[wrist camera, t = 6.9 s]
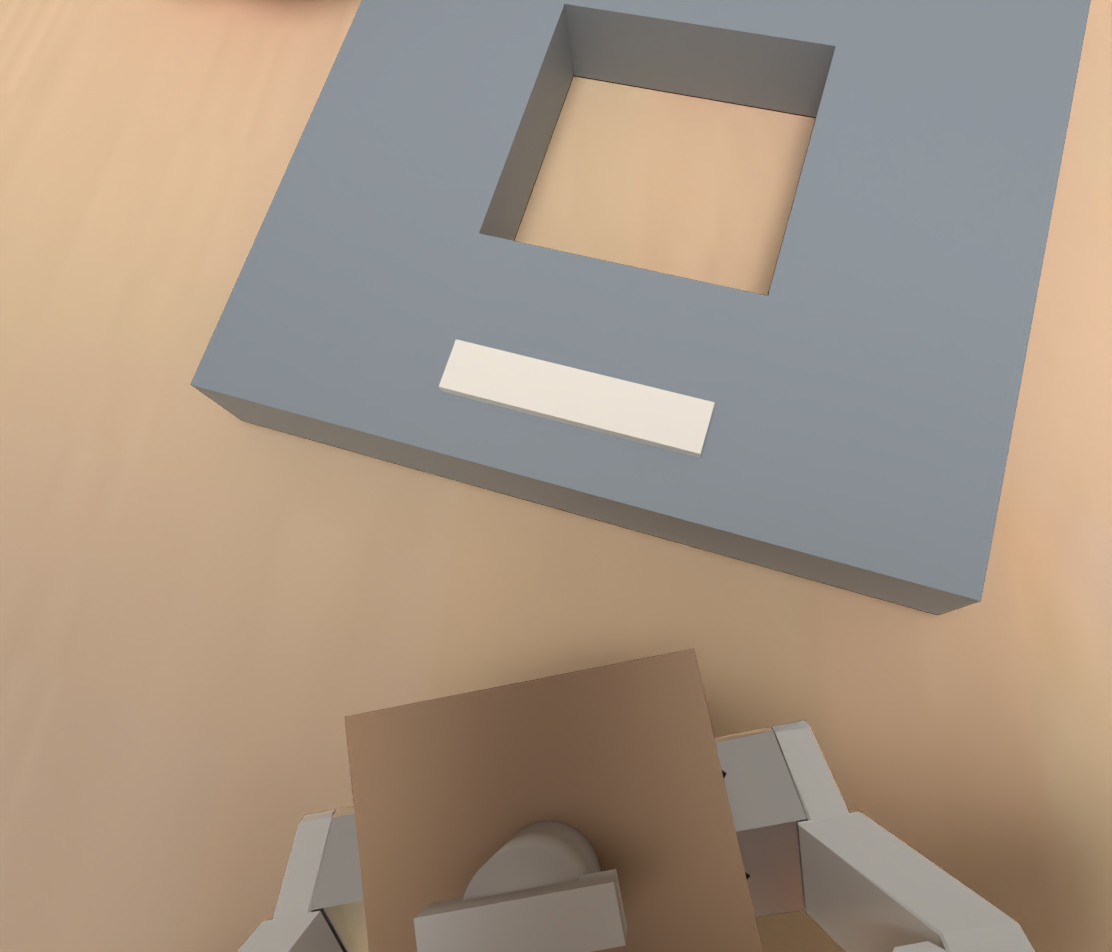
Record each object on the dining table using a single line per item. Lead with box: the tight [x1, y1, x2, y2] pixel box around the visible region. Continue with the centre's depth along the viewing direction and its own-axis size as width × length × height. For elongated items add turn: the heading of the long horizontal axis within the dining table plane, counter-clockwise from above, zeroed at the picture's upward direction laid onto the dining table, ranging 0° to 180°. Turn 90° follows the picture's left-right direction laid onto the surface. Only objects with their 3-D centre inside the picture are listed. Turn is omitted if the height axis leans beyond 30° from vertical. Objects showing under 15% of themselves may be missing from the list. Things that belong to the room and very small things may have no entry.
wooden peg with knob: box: [345, 649, 763, 952], centre depth 12 cm, size 4×4×10 cm
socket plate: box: [191, 0, 1091, 615], centre depth 21 cm, size 18×18×3 cm
